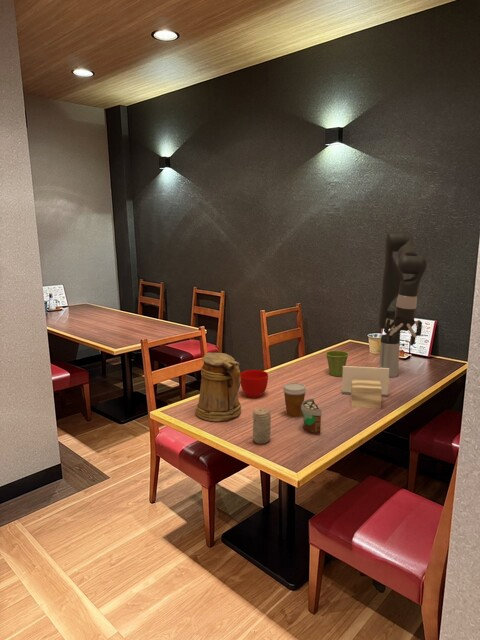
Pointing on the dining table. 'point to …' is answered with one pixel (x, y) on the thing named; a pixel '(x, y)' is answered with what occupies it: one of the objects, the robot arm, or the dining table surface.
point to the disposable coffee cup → (294, 398)
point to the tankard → (219, 388)
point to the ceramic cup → (254, 382)
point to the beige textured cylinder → (261, 425)
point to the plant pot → (336, 362)
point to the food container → (311, 416)
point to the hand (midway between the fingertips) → (400, 344)
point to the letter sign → (365, 377)
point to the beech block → (366, 393)
